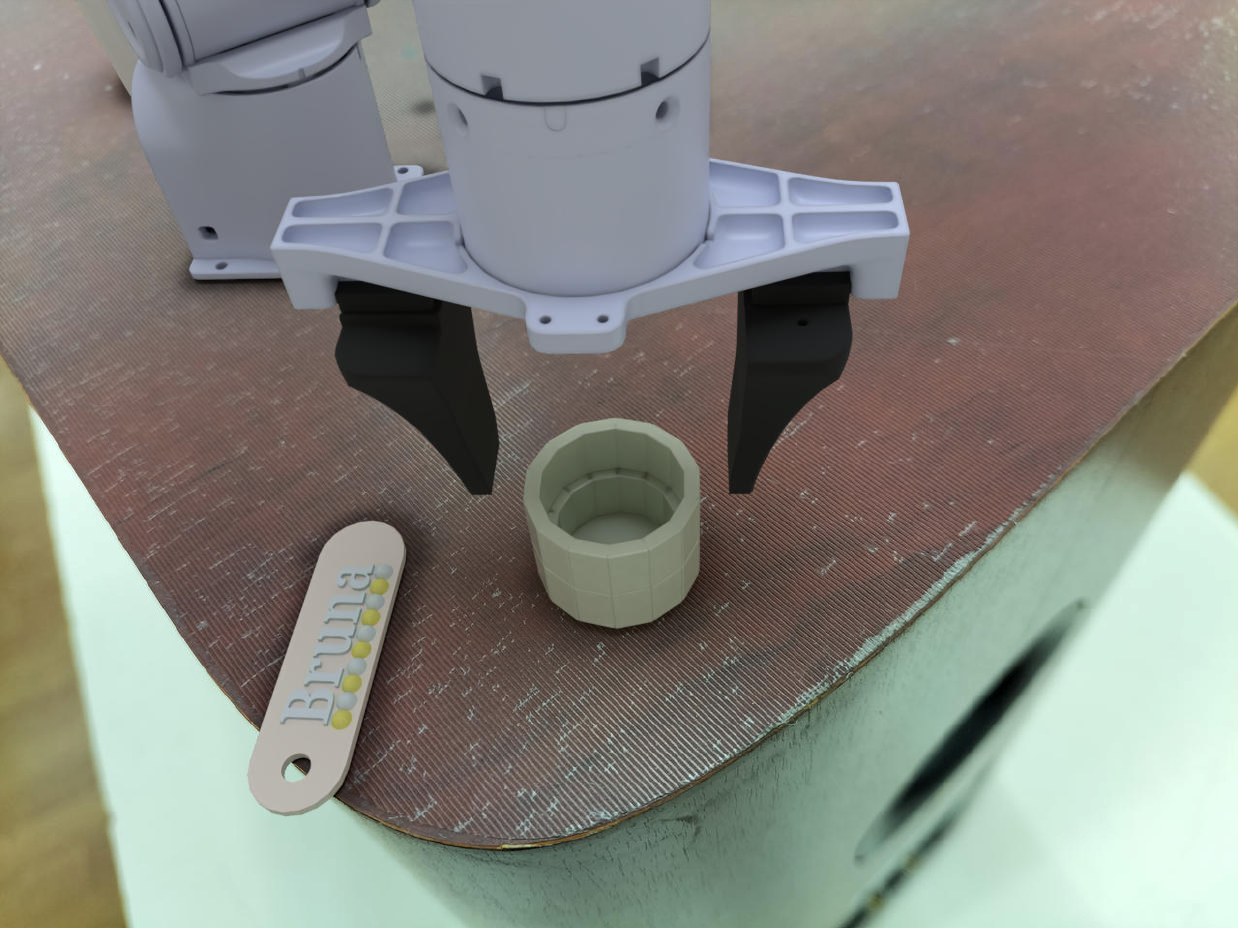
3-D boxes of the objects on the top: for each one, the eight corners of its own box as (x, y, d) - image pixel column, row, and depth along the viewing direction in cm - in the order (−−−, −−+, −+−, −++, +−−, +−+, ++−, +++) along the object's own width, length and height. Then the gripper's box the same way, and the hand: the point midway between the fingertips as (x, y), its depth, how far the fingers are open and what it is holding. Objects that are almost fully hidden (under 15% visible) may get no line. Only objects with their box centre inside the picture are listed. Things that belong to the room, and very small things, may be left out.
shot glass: (206, 115, 55) (153, -14, 49) (93, 108, 56) (29, -20, 51) (259, 51, 59) (216, -75, 54) (153, 45, 60) (101, -78, 55)
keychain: (328, 811, 29) (229, 805, 29) (335, 818, 29) (237, 813, 30) (410, 516, 35) (329, 515, 36) (414, 526, 36) (334, 525, 36)
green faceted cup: (533, 636, 33) (514, 557, 29) (548, 502, 36) (533, 417, 33) (700, 637, 32) (700, 557, 29) (698, 501, 36) (699, 416, 33)
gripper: (142, 155, 18) (346, 579, 28) (979, 130, 17) (872, 580, 27) (251, -27, 22) (392, 397, 33) (917, -55, 21) (845, 392, 32)
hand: (610, 468), depth 30 cm, fingers open, 7 cm apart
